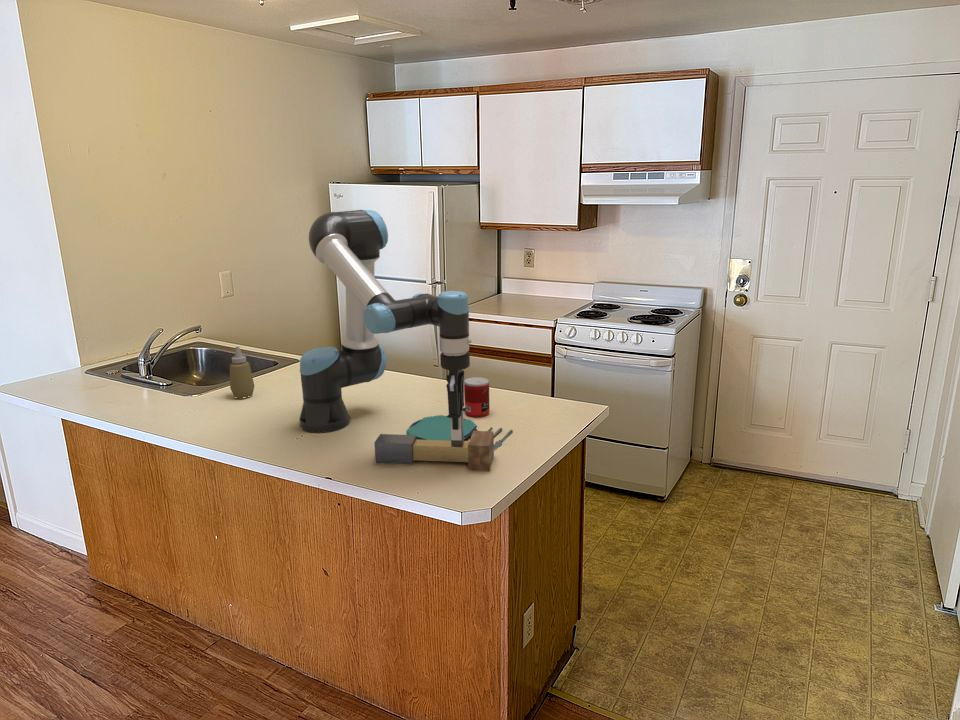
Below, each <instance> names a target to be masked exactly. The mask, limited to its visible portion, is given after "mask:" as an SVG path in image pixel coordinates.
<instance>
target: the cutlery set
mask: <svg viewBox="0 0 960 720" xmlns="http://www.w3.org/2000/svg"><path fill="white" fill-rule="evenodd" d="M447 416H448V415H443V414H440V415H438V414H437V415H431V416H427V417H426V416H425V417H422V419H419V420H417V421H415V422H413V423H411V425H410V426H409V427H408V428H407V429H406V434H405V435H416V440H445V441H451V421H450V418H448V417H447ZM463 427H464V440H465V439H467V438H469V437H471V436H472V433H473V431H476V428H478V426H477V424H476V423H475V422H474V421H473V420H472V419H468V418H467V419H466V418H463ZM491 430H494V429H493V427H491V426H490V428H489V429H488V430H487V431H491ZM502 431H503V427H499V428H498V429H497V430H496V431H495V432H494V438H495V437H496V436H498V434H499V433H500V432H502ZM512 434H513V429H510V430H508V432H506V434H505V435H504V436H503V437H502V438H501V439H498V441H495V442H494V452H495V451H496V450H497V449H499V448H500V447H501V446H502V445H503V442H504V441H505V440H506V439H508V437H509V436H510V435H512ZM498 447H499V448H498Z"/></svg>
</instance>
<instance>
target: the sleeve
mask: <svg viewBox="0 0 960 720" xmlns="http://www.w3.org/2000/svg"><path fill="white" fill-rule="evenodd" d="M414 440H417V439H416V435H407V434H397V433H396V434H391V433H380V434H379V435H378V437H377V438H376V440H375V441H374V455H375V456H374V457H375V464H382V463H383V464H387V465H410V466H412V465H413V464H414V462H415V460H412V444H413V442H414Z"/></svg>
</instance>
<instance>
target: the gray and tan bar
mask: <svg viewBox="0 0 960 720" xmlns="http://www.w3.org/2000/svg"><path fill="white" fill-rule="evenodd" d="M463 408H464V407H463ZM463 408H460V416H461V430H462V440H461V441H460V440H451V441H445V440H418V439H416V440H414V442H413V444H412V460H414V461H426V462H429V461H430V462H449V463H451V462H452V463H453V462H454V463H455V462H456V463H468V444H469V441H470V440H469V441H468V440H467V441H466V440H465V439H464V427H463V419H464V411H463ZM450 421H451V419H450Z"/></svg>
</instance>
